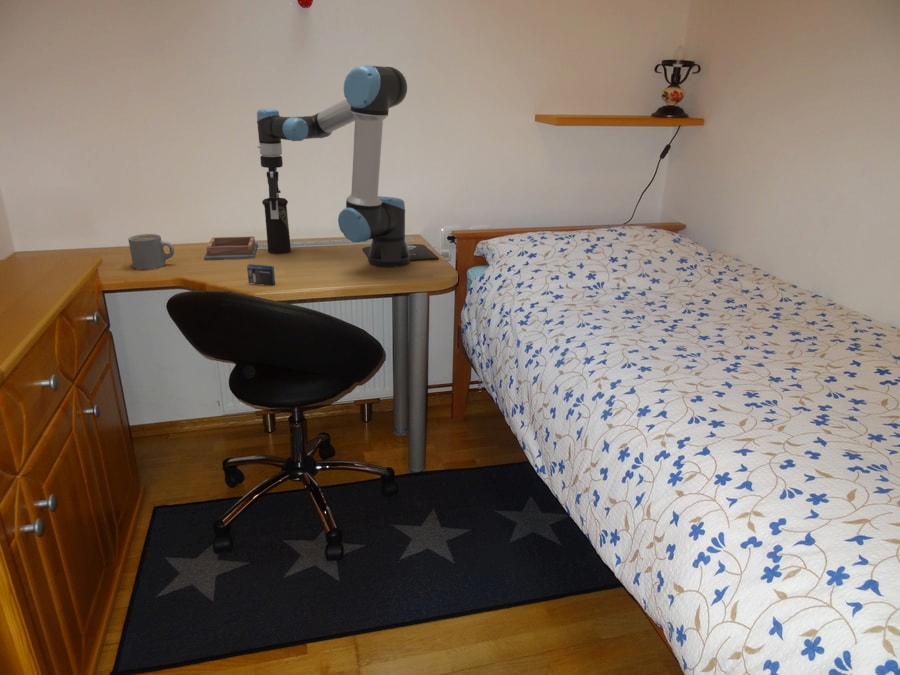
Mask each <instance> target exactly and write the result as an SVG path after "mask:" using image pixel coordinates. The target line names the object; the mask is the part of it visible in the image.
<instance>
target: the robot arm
mask: <svg viewBox="0 0 900 675" xmlns="http://www.w3.org/2000/svg"><path fill="white" fill-rule="evenodd" d="M407 92H408V83H407V79H406V77H405V75H404V74H403V73H402V72H401V71H400V70H398V69H397V68H395V67H392V66H380V65H378V66H377V65H370V64H369V65H367V64H365V65H360V66H359V65H358V66H355V67H354V68H352V69H351V70H350V71H349V72H348V73H347V75H345V79H344V83H343V95H344V99H343V100H341V101H339V102H337V103H335V104H333V105H331V106H329V107H327V108H325V109H323V110H321V111H320V112H317V113H315V114H313V115H307V116H281V115H280V111H279V110H278V109H275V108H261V109H258V110H257V112H256V123H257V124H256V125H257V132H258V144H259V145H257V149H259V153H260V157H259V158H260V166H261V168H267V169H268V171H266V178H267V184H268V196H269V197H268V198H266V199H267V200H268V201H270V213H271V219H279V214H278V200H277V198H280V194H281V189H279V188H280V187H279V171H277V170H278V168H283V156H282V155H283V151H282V149H283V146H282V140H285V141H292V142H302V141H304V140H308V139H309V140H310V139H324V138H327V137H330V136H331V135H332V133H333V132H335V131H337V130H338V129H341V128H342V127H345V126H348V124H349V125H350V124H351V123H353V122H354V130H353V132H354V134H353V136H354V137H353V151H352V152H353V153H352V154H353V156H352V174H351V192H350V194H349V195H348V196H347V197H346V199H345V200H346V201H345V202H346V203H345V207H344V208H343V209H341V211H340V212H339V214H338V218H337V222H338V227H339V230H340V231H341V233H342V234H343V236H344V237H345V238H346V239H347V240H348V241H350V242H352V243H364V242H368V241H370V240H371V244H370V247H369V251H368V254H367V263H368V262H369V263H370V264H369V263H368V264H369V265H371V264H372V266H374V265H375V267H379V266H381V267H382V268H396V267H395V266H398V267H403V266H406V264H407V265H408V264H410V263H409V262H411V253H410V252H409V249H408V246H407V242H406V205H405V201H404V200H403V199H402V198H399V197H390V196H380V195H379V181H380V169H381V168H380V166H381V152H382V139H383V138H382V137H383V125H384V122H383V121H384V120H385V119H386V118H388V116H389V111H390V110H389V109H391V108H394V107H396V106H398V105H400V104H401V103H402V102H403V101H404V100H405V98H406V95H407ZM381 267H380V268H381Z"/></svg>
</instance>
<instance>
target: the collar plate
mask: <svg viewBox="0 0 900 675" xmlns="http://www.w3.org/2000/svg"><path fill="white" fill-rule="evenodd" d="M255 241H256V239H255V236H228V237H227V236H223V237H219V236H218V237H211V238H210V240H209V242H208V244H207V245H206V253H205V255H204V257H203V258H204V260H203V261H223V260H224V259H228V260H248V259H249V258H254V259H255V258H256V253H257V250H258V246H259V242H255ZM220 259H221V260H220ZM249 260H250V259H249Z"/></svg>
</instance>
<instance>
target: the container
mask: <svg viewBox="0 0 900 675" xmlns="http://www.w3.org/2000/svg"><path fill="white" fill-rule="evenodd" d="M277 200H278V214H279V219H271V213H270V201H268V200H267V198H264V199H262V200H261V201H262V202H261V204H262V205H263V207H264V216H265V229H266V241H267V243H266V244H267V245H266V246H267V252H268V253H270V254H274V255H278V254H279V255H282V254H288V253H290V252H291V251H292V246H291V245H292V244H291V239H290V229H289V228H290V226H289V219H288V218H289V216H288V208H287V207H288V206H287V205H288V203H289V202H288V200H287V199H286V198H284V197H279V198H277Z"/></svg>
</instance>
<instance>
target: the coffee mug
mask: <svg viewBox="0 0 900 675" xmlns="http://www.w3.org/2000/svg"><path fill="white" fill-rule="evenodd" d="M128 246H129V250H130V256H131V261H132V267H133V269H134V268H135V269H134V270H138V269H152V270H155V269H154V268H158V269H160V268H159V267H161V268H163V267H165V266H166V261H167V260H169V259H171V258H173V256H174V254H175V247H174V245H173V244H172V242H170V241H166V240H162V236H161V235H160V234H158V233H157V234H155V233H142V234H135V235H134V234H133V235H132V236H129V237H128ZM164 246H168V248H169V253H166V252H165V250H164ZM164 265H165V266H164ZM162 266H163V267H162Z"/></svg>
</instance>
